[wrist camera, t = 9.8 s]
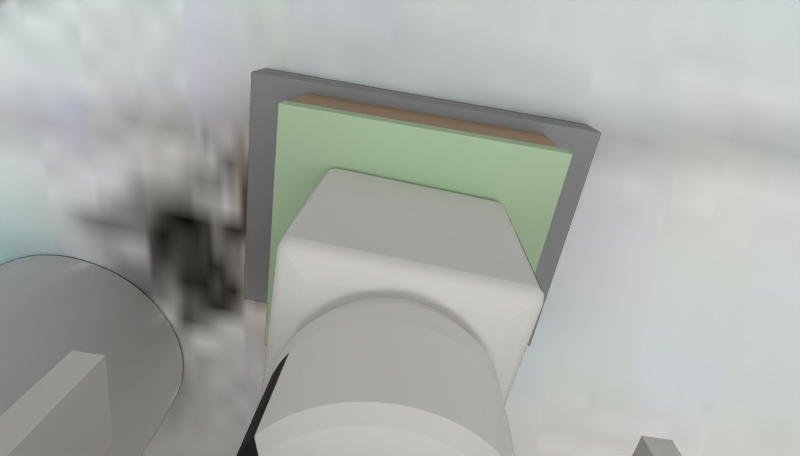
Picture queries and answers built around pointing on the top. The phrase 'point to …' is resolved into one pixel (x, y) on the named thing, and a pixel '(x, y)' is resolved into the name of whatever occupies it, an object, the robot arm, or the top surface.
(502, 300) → the medicine bottle
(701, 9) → the top surface
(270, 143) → the stand
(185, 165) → the top surface
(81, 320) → the utensil holder
